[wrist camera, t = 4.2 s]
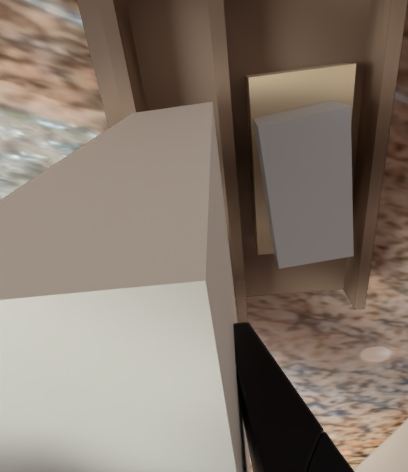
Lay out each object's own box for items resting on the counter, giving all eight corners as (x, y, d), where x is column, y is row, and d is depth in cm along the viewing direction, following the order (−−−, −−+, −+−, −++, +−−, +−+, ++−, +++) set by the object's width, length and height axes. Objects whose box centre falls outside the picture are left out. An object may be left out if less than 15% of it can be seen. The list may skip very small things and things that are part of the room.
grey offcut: (339, 236, 18) (353, 256, 16) (272, 248, 18) (279, 268, 16) (334, 99, 15) (350, 105, 13) (253, 118, 15) (258, 126, 13)
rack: (344, 275, 23) (368, 314, 20) (155, 290, 24) (145, 330, 21) (376, -57, 15) (427, -93, 11) (84, -10, 16) (47, -29, 12)
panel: (236, 312, 17) (267, 665, 7) (178, 317, 17) (129, 664, 7) (212, 101, 12) (205, 280, 2) (132, 113, 12) (-176, 316, 3)
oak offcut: (329, 230, 20) (340, 247, 18) (254, 237, 20) (258, 254, 18) (340, 63, 16) (356, 63, 14) (245, 75, 16) (248, 77, 14)
